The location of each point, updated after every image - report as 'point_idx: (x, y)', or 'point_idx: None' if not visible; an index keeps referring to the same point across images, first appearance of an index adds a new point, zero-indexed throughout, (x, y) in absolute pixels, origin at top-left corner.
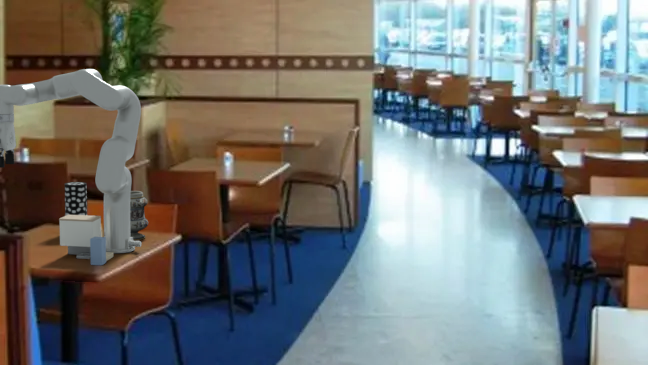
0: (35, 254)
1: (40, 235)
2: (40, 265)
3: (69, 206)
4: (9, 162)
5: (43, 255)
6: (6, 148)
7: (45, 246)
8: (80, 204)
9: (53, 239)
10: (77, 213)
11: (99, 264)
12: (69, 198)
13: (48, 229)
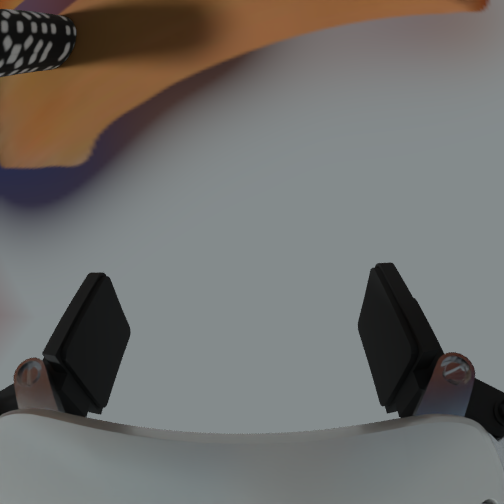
0: (345, 24)
1: (90, 116)
2: (450, 3)
3: (22, 41)
4: (114, 313)
5: (353, 3)
6: (484, 434)
7: (232, 28)
8: (13, 12)
9: (130, 53)
10: (35, 18)
11: None
12: (3, 41)
13: (29, 140)
